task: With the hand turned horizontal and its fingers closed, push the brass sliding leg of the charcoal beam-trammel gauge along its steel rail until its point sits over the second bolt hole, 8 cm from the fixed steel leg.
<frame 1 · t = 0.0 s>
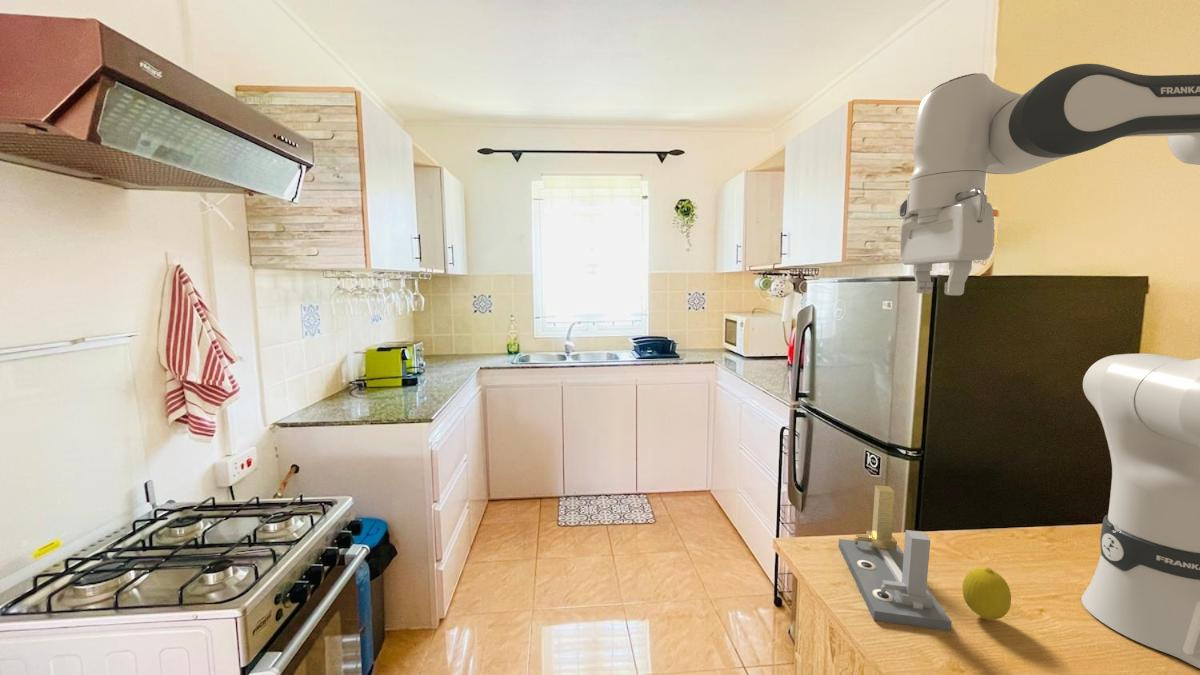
hand: (937, 294, 70), 48 cm above the countertop, tool pointing down, fingers open, 8 cm apart
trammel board: (886, 582, 78), on the countertop
brass leg: (875, 517, 85), point 7 cm above the countertop, slide at 0.0 cm
lemon: (983, 619, 70), on the countertop
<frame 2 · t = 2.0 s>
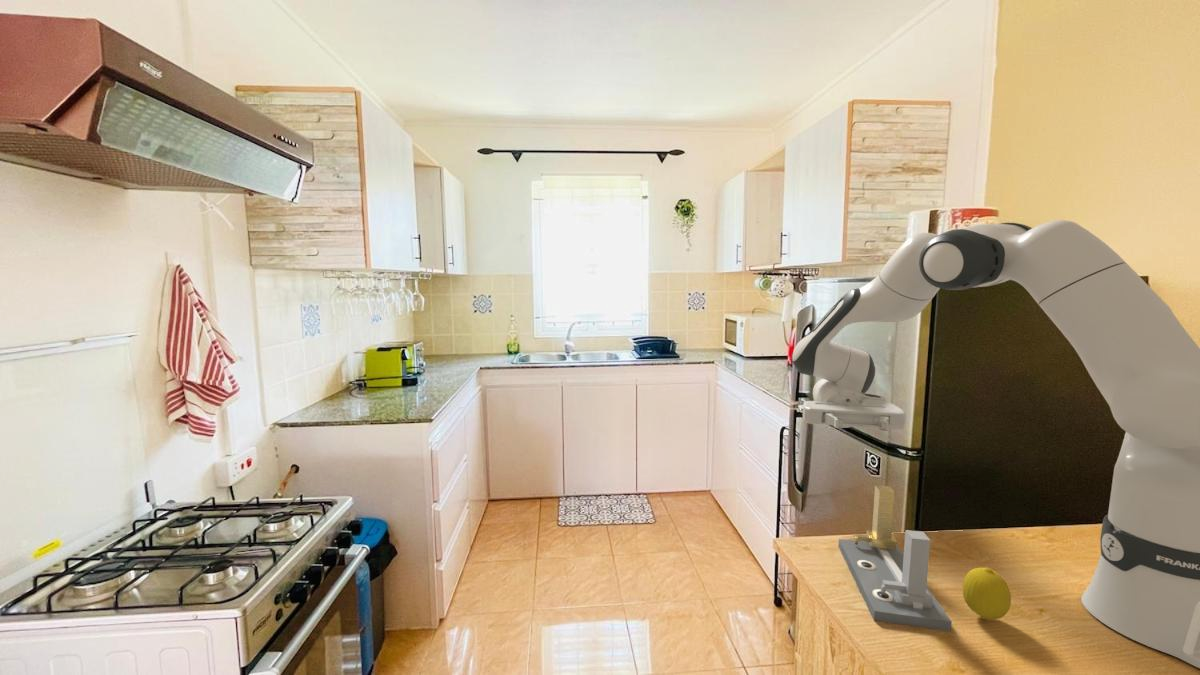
hand: (862, 425, 97), 20 cm above the countertop, tool horizontal, fingers open, 7 cm apart
nothing on the countertop moved.
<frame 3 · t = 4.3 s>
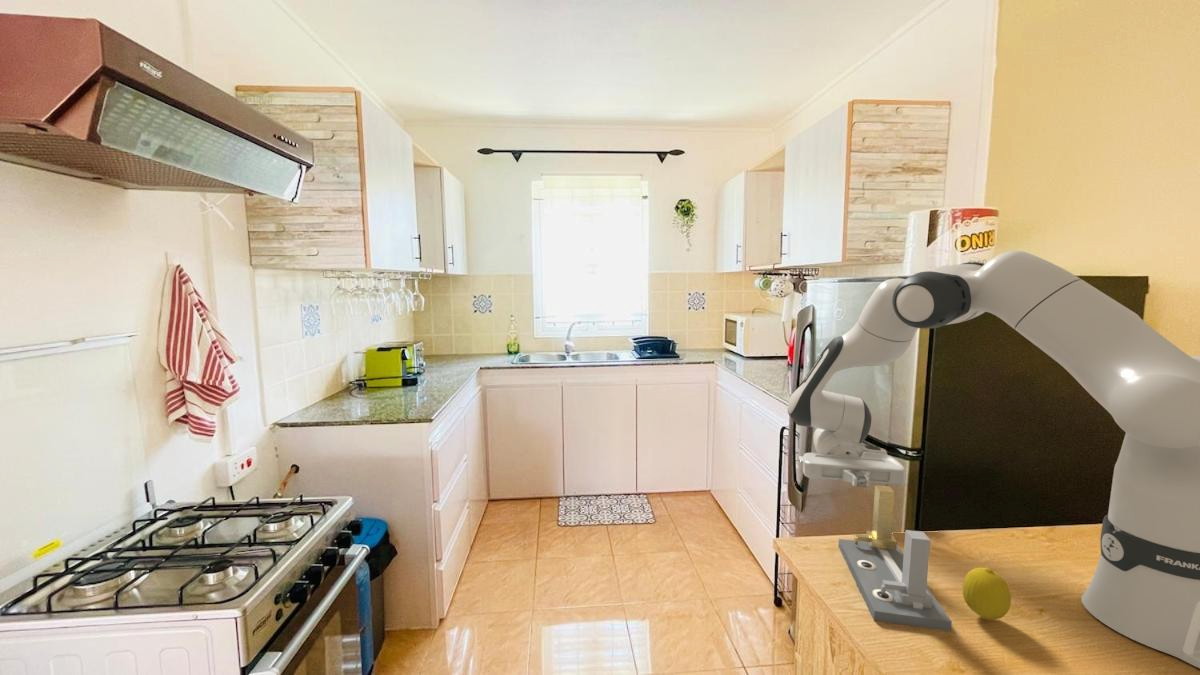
hand: (861, 483, 97), 8 cm above the countertop, tool horizontal, fingers closed
nothing on the countertop moved.
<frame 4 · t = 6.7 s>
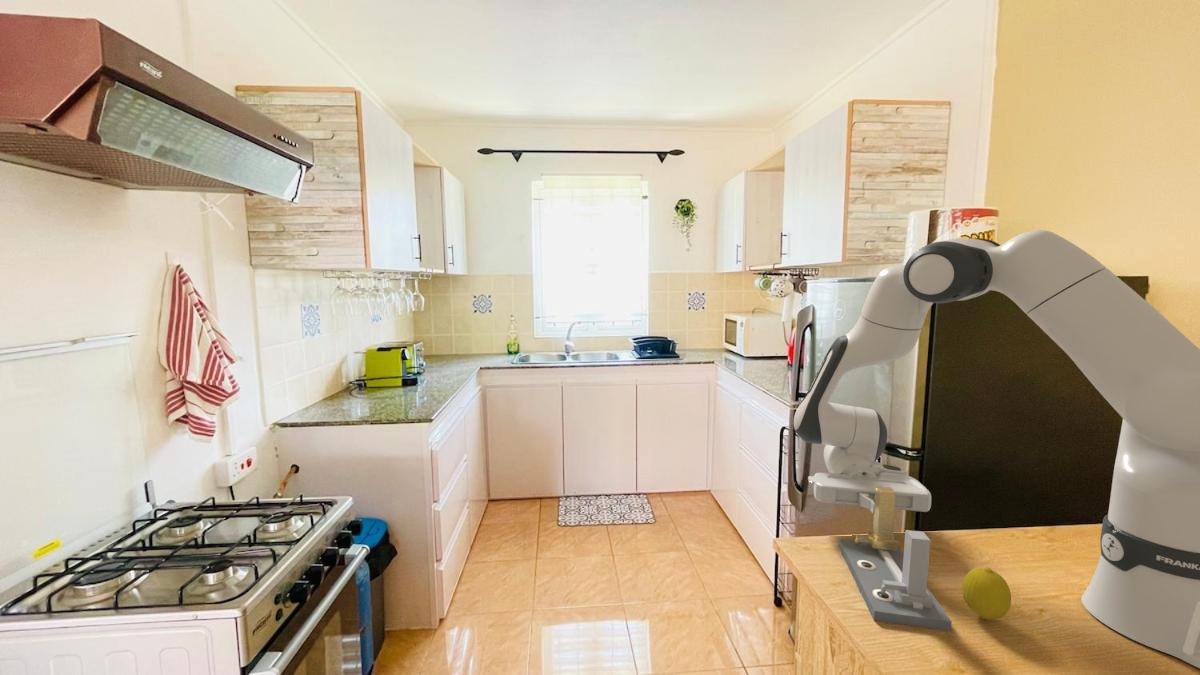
hand: (882, 510, 85), 8 cm above the countertop, tool horizontal, fingers closed, pressing on brass leg
brass leg: (876, 518, 84), point 7 cm above the countertop, slide at 0.4 cm, touching gripper
everything else where it was.
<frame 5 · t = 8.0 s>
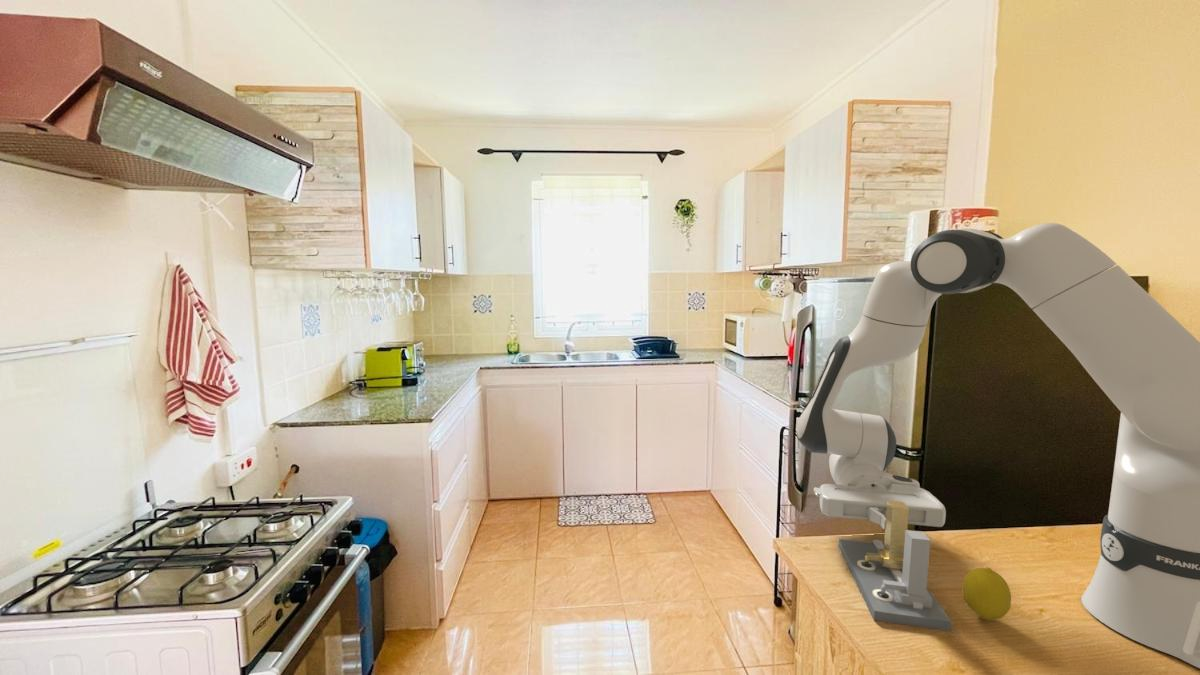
hand: (893, 526, 80), 8 cm above the countertop, tool horizontal, fingers closed, pressing on brass leg
brass leg: (887, 534, 79), point 8 cm above the countertop, slide at 6.1 cm, touching gripper
everything else where it was.
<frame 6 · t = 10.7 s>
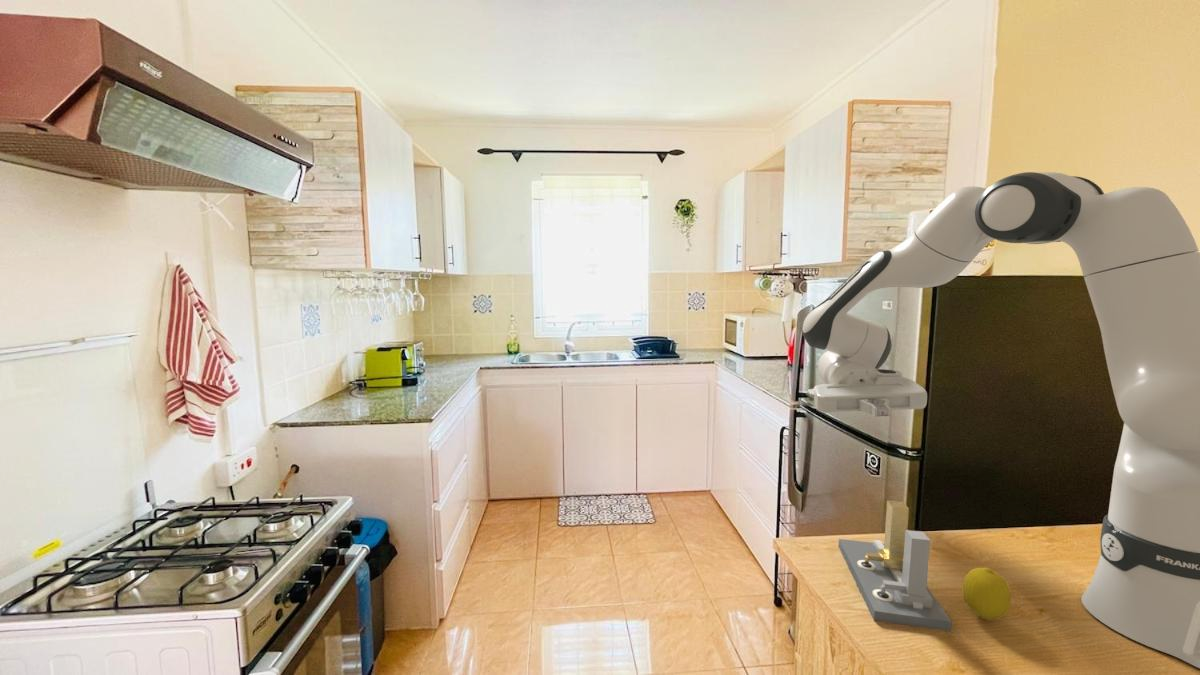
hand: (882, 412, 88), 25 cm above the countertop, tool horizontal, fingers closed
brass leg: (887, 534, 79), point 8 cm above the countertop, slide at 6.1 cm
everything else where it was.
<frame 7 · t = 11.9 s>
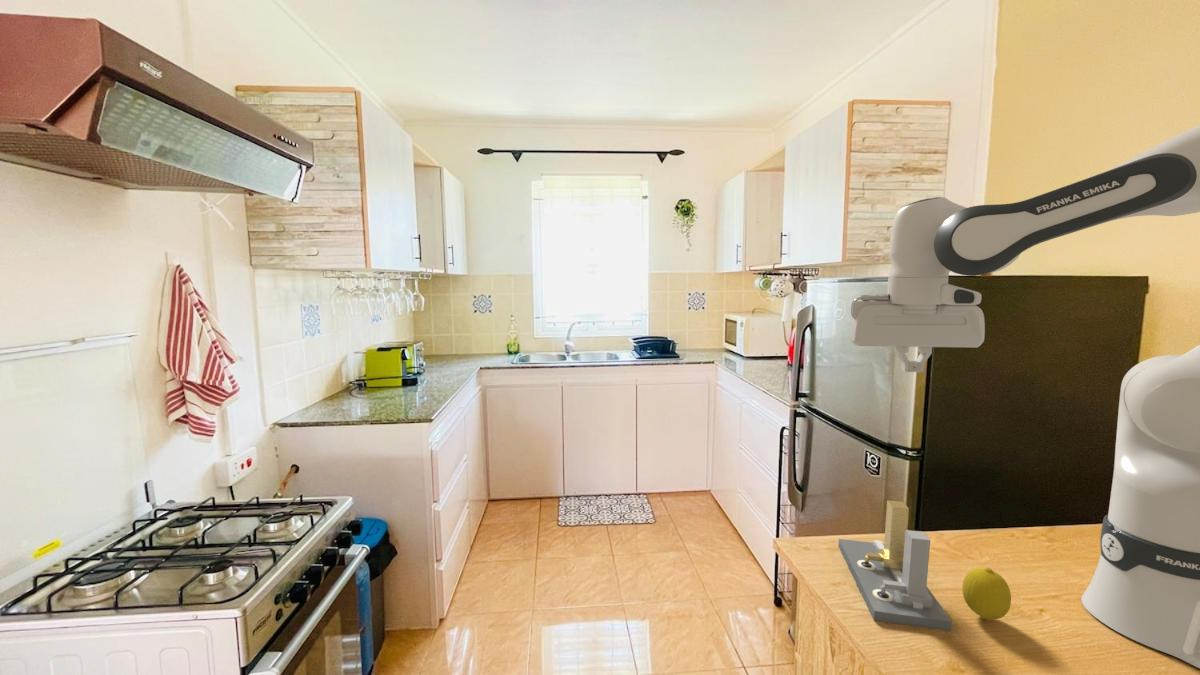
hand: (912, 371, 84), 34 cm above the countertop, tool pointing down, fingers closed
nothing on the countertop moved.
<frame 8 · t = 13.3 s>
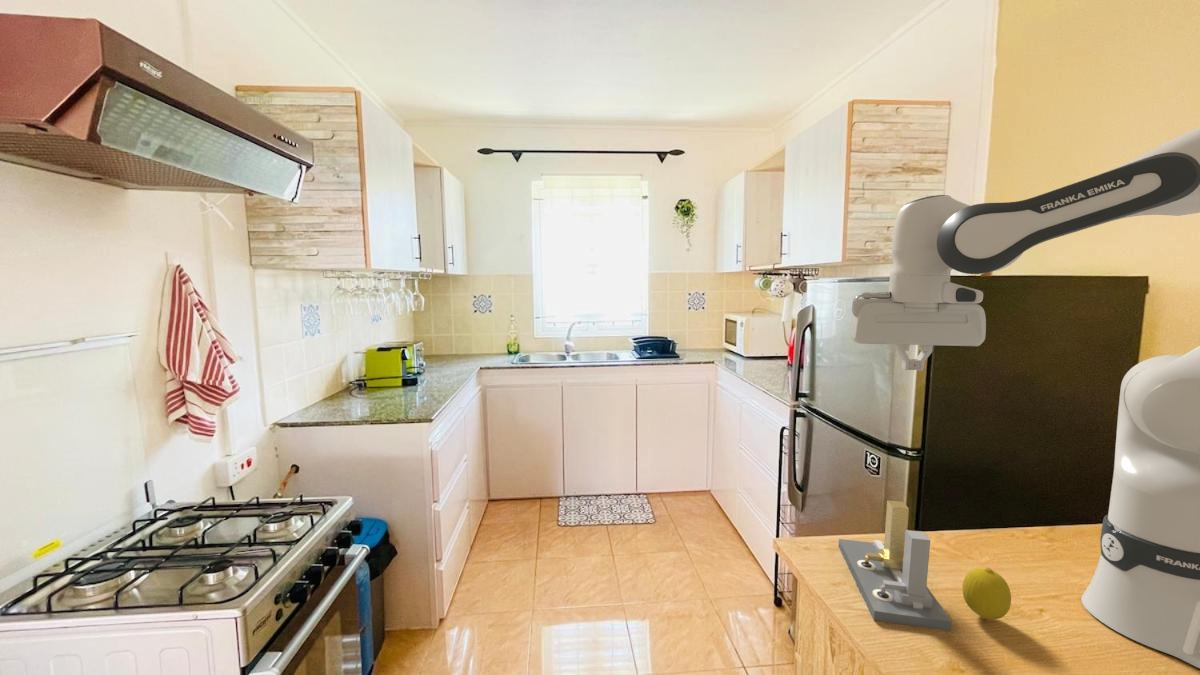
hand: (912, 369, 84), 34 cm above the countertop, tool pointing down, fingers closed
nothing on the countertop moved.
at the end: brass leg slide at 6.1 cm; lemon moved 0.2 cm from its start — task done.
